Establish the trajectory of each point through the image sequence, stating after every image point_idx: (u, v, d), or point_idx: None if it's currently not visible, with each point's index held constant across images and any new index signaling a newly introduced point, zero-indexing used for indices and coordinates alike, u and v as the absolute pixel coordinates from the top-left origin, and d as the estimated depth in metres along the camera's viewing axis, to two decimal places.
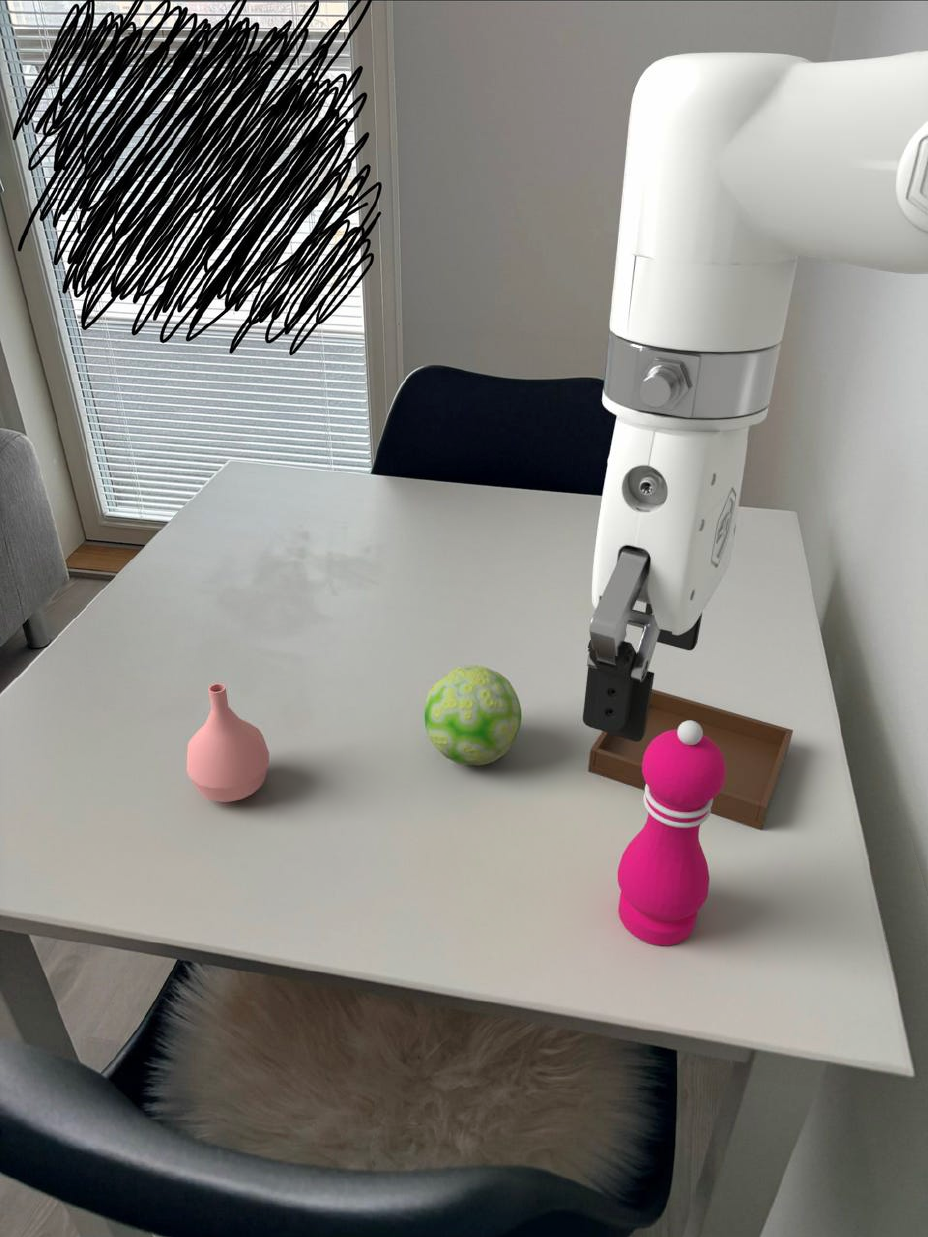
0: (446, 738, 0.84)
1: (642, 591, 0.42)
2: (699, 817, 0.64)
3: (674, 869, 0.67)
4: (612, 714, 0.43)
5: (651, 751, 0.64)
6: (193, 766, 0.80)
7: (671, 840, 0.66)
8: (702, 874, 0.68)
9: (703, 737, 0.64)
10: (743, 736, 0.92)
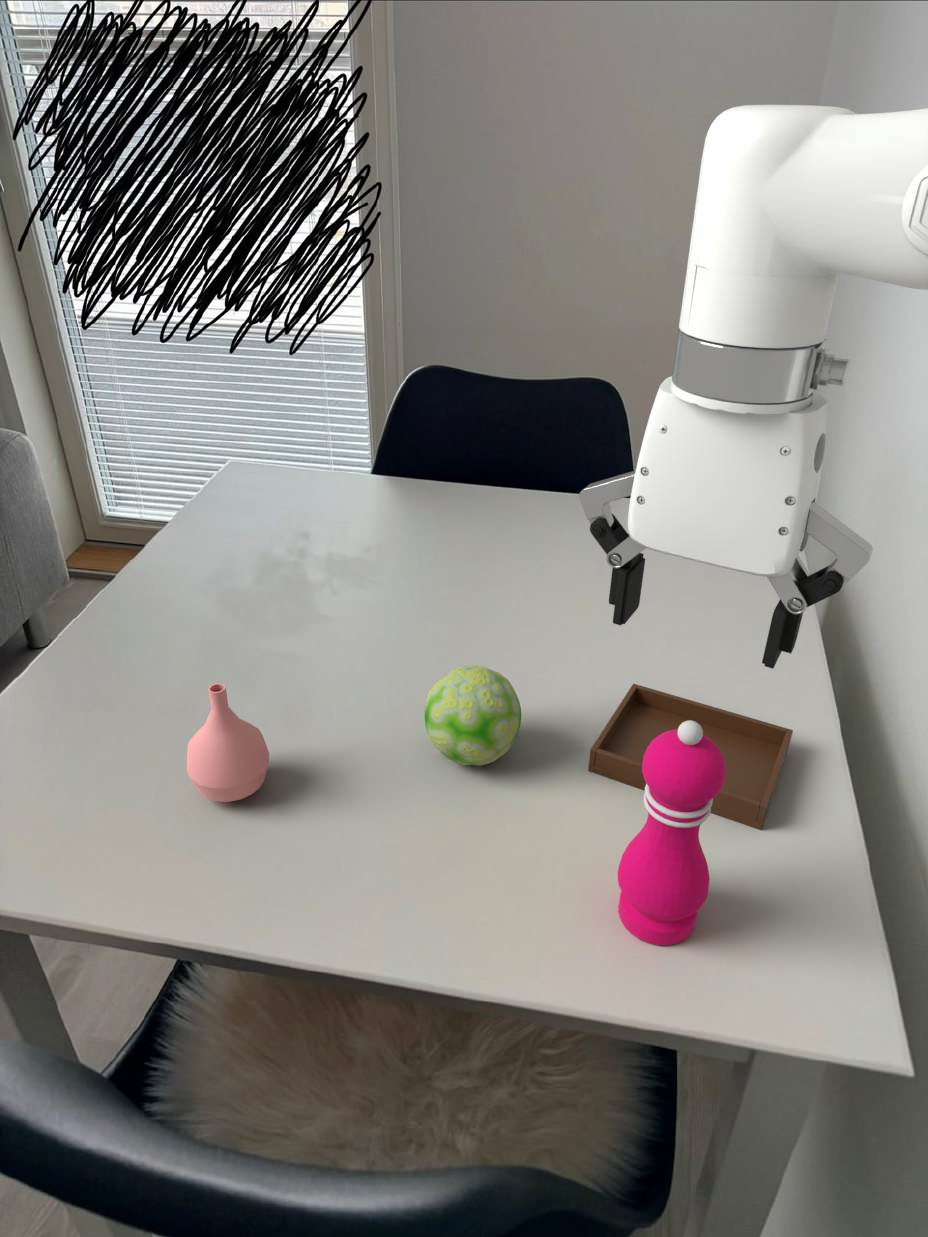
0: (446, 738, 0.84)
1: None
2: (699, 817, 0.64)
3: (674, 869, 0.67)
4: None
5: (651, 751, 0.64)
6: (193, 766, 0.80)
7: (671, 840, 0.66)
8: (702, 874, 0.68)
9: (703, 737, 0.64)
10: (743, 736, 0.92)
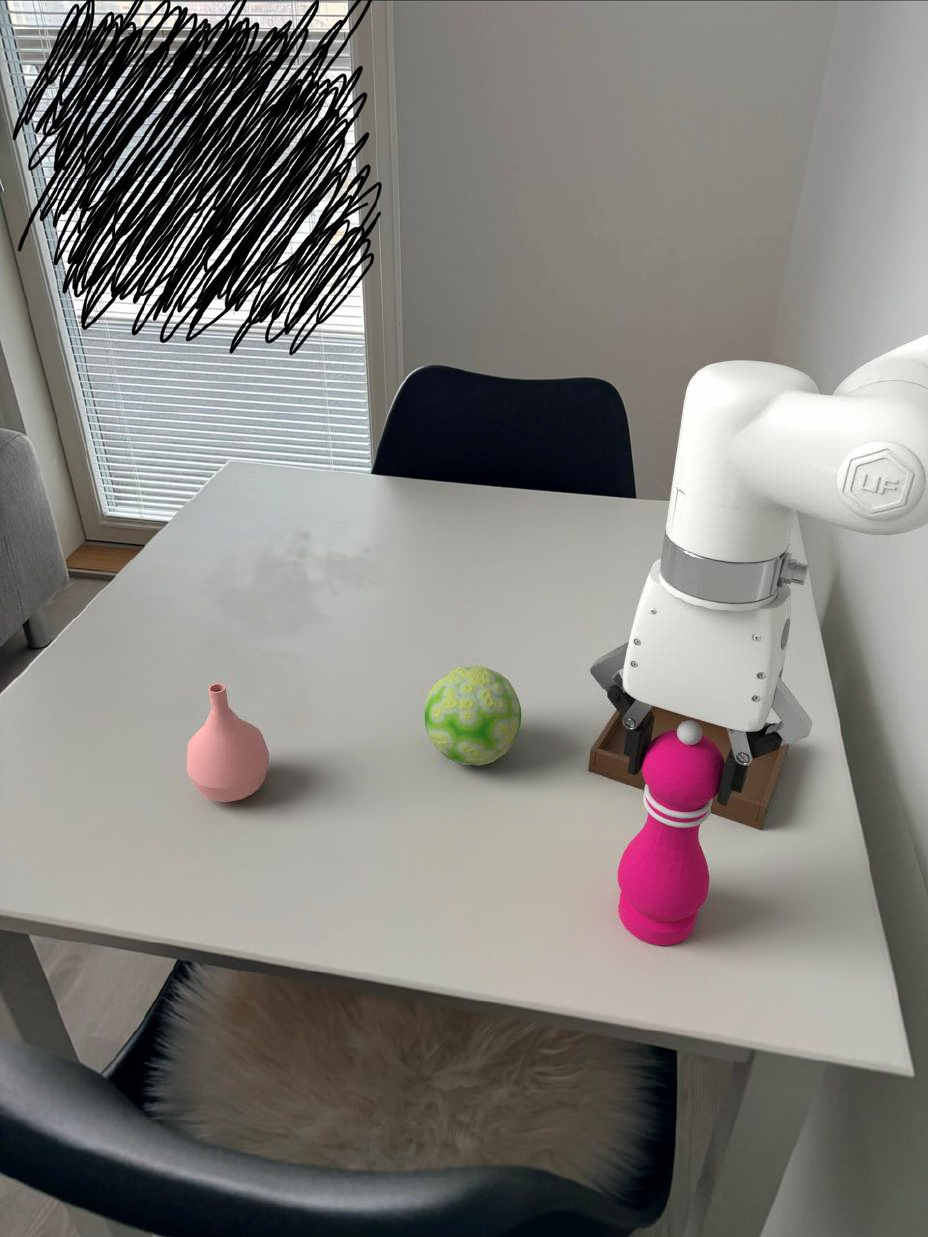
0: (446, 738, 0.84)
1: None
2: (699, 817, 0.64)
3: (674, 869, 0.67)
4: None
5: (651, 751, 0.64)
6: (193, 766, 0.80)
7: (670, 840, 0.66)
8: (702, 874, 0.68)
9: (703, 737, 0.64)
10: None
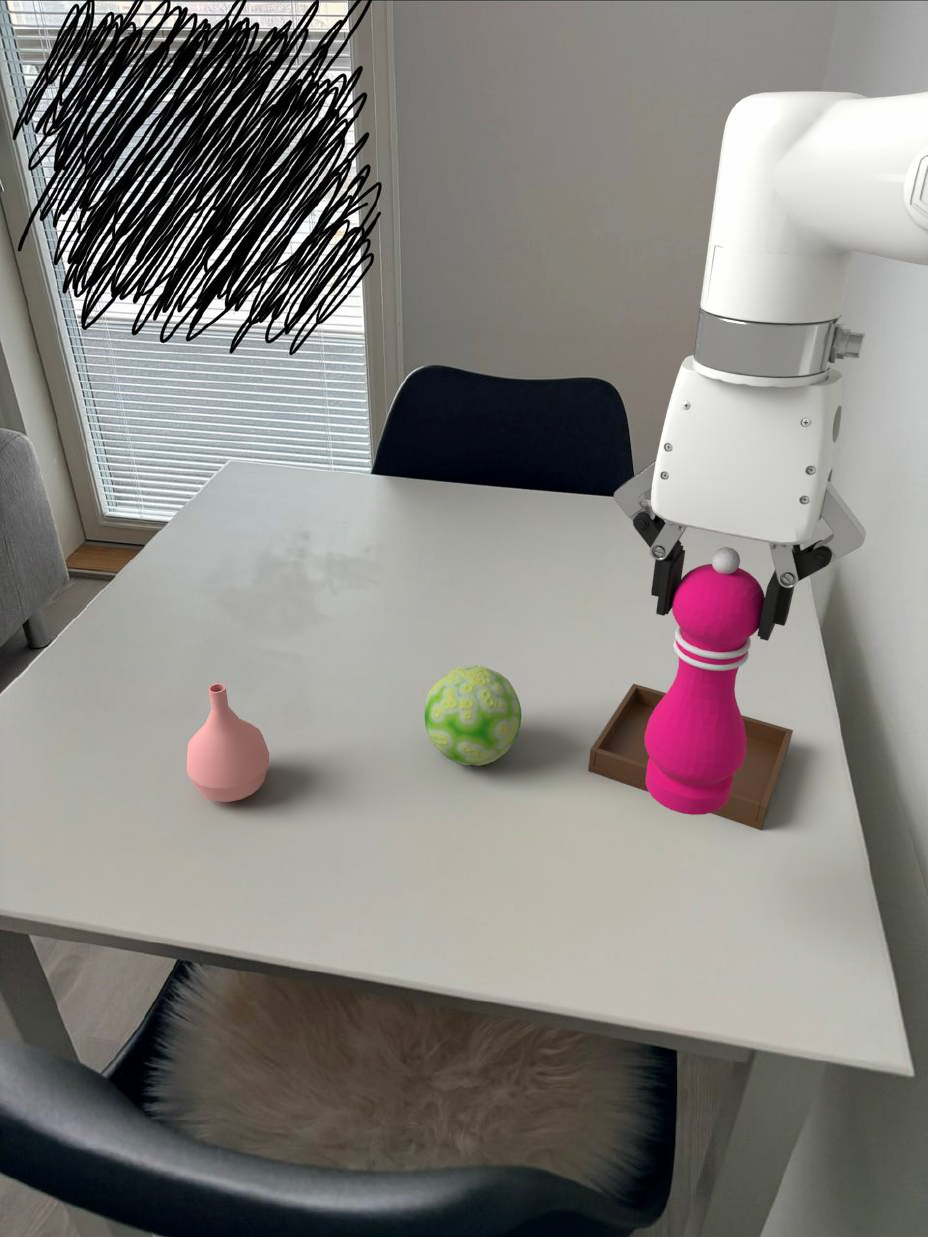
0: (446, 738, 0.84)
1: None
2: (737, 658, 0.58)
3: (709, 723, 0.60)
4: None
5: (682, 584, 0.58)
6: (193, 766, 0.80)
7: (705, 688, 0.59)
8: (740, 730, 0.61)
9: (740, 569, 0.58)
10: None
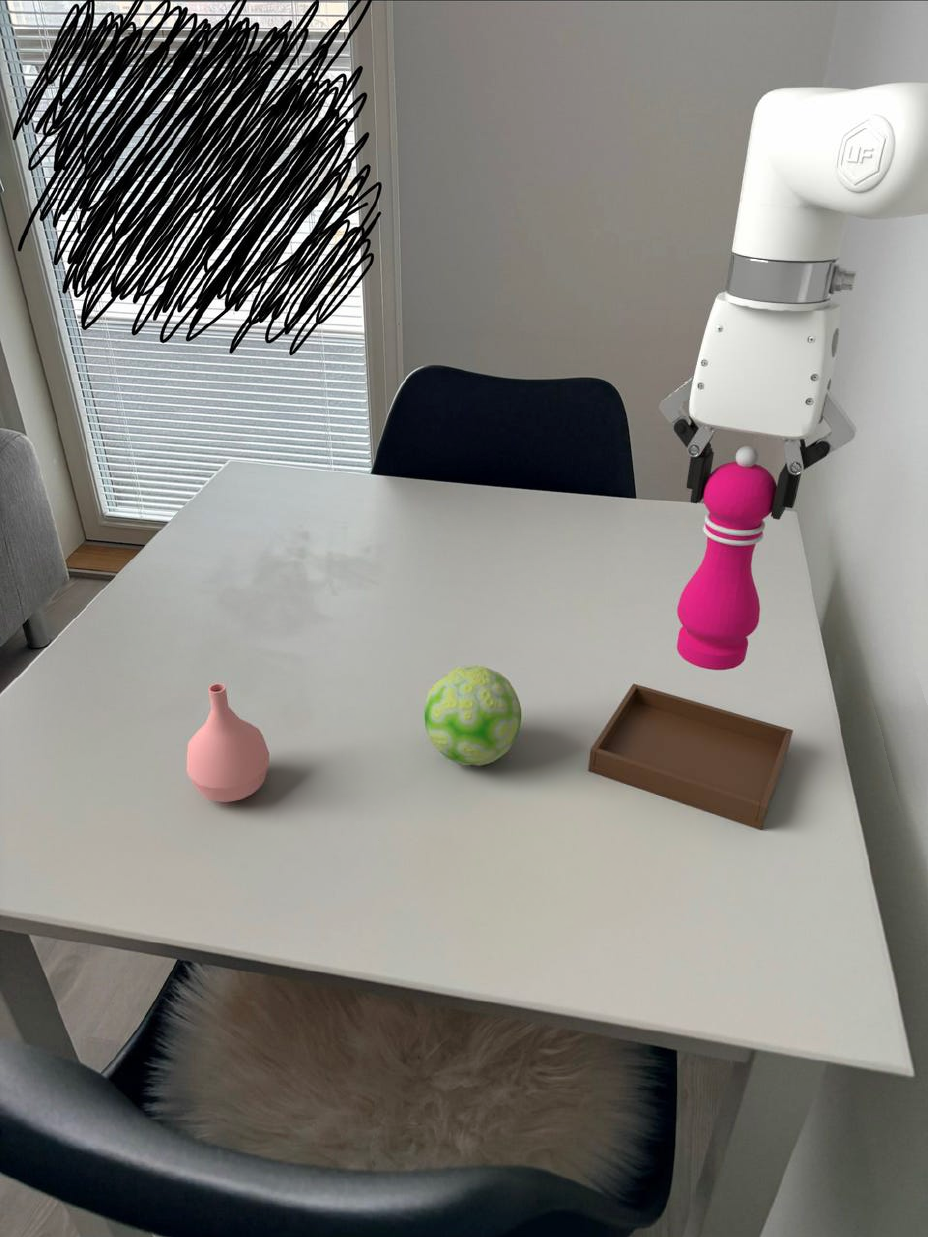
0: (446, 738, 0.84)
1: None
2: (754, 536, 0.73)
3: (730, 590, 0.76)
4: None
5: (712, 476, 0.73)
6: (193, 766, 0.80)
7: (728, 561, 0.75)
8: (755, 598, 0.77)
9: None
10: (743, 736, 0.92)
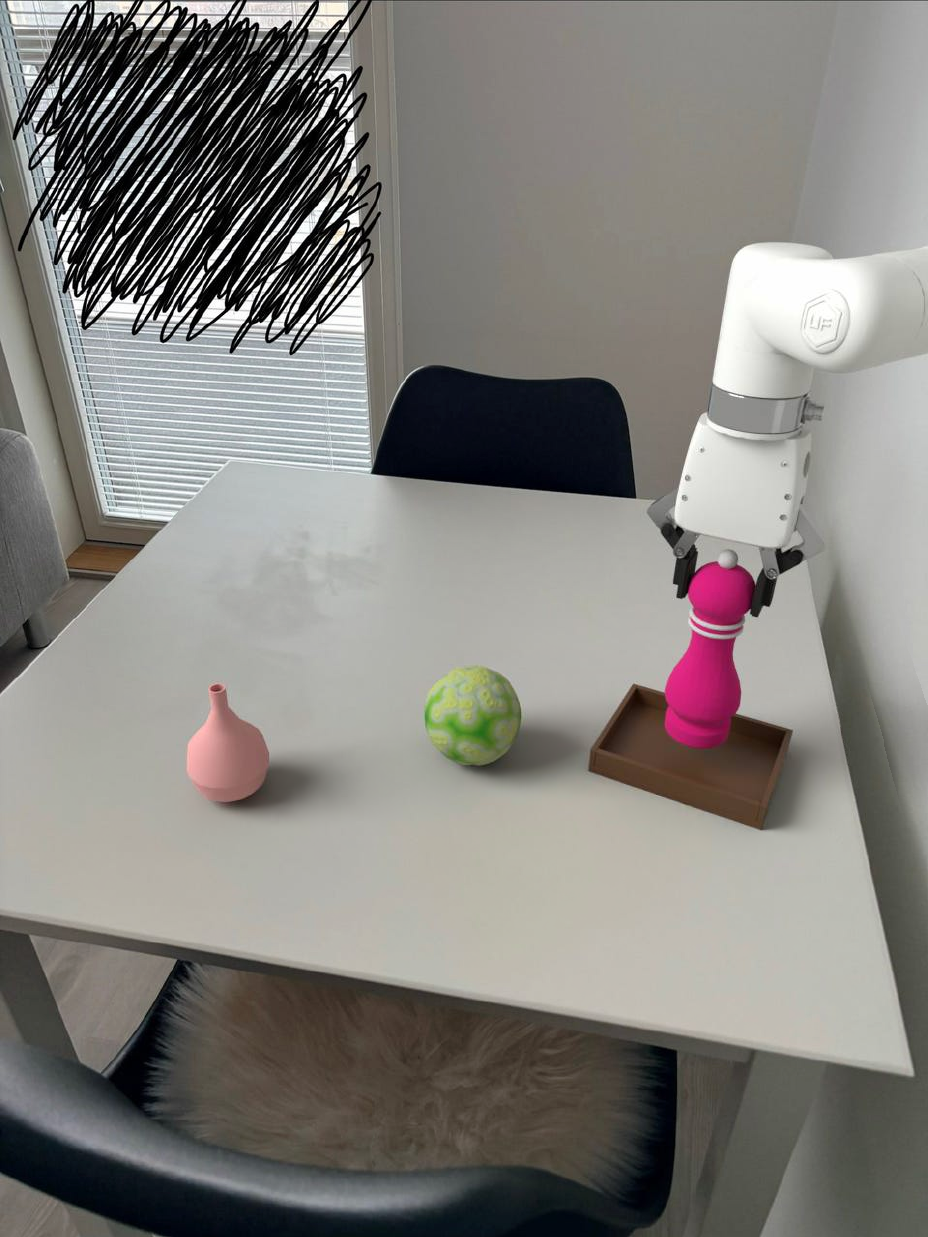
0: (446, 738, 0.84)
1: None
2: (735, 630, 0.79)
3: (713, 678, 0.82)
4: None
5: (696, 576, 0.79)
6: (193, 766, 0.80)
7: (711, 652, 0.81)
8: (736, 684, 0.83)
9: (738, 565, 0.79)
10: (743, 736, 0.92)
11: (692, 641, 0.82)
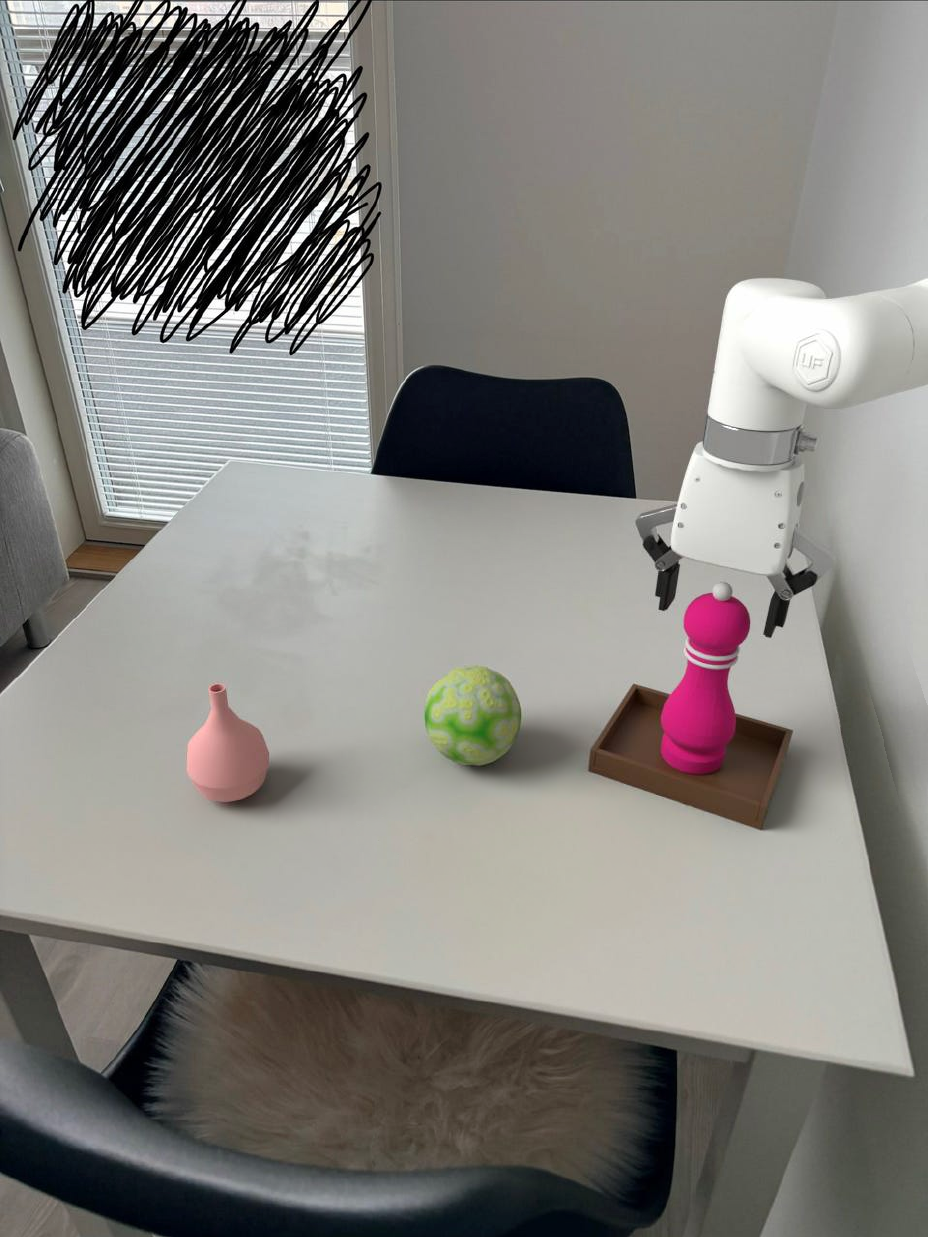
0: (446, 738, 0.84)
1: None
2: (729, 661, 0.81)
3: (708, 707, 0.83)
4: None
5: (691, 607, 0.81)
6: (193, 766, 0.80)
7: (706, 681, 0.83)
8: (731, 713, 0.84)
9: (732, 597, 0.81)
10: (743, 736, 0.92)
11: (687, 670, 0.84)
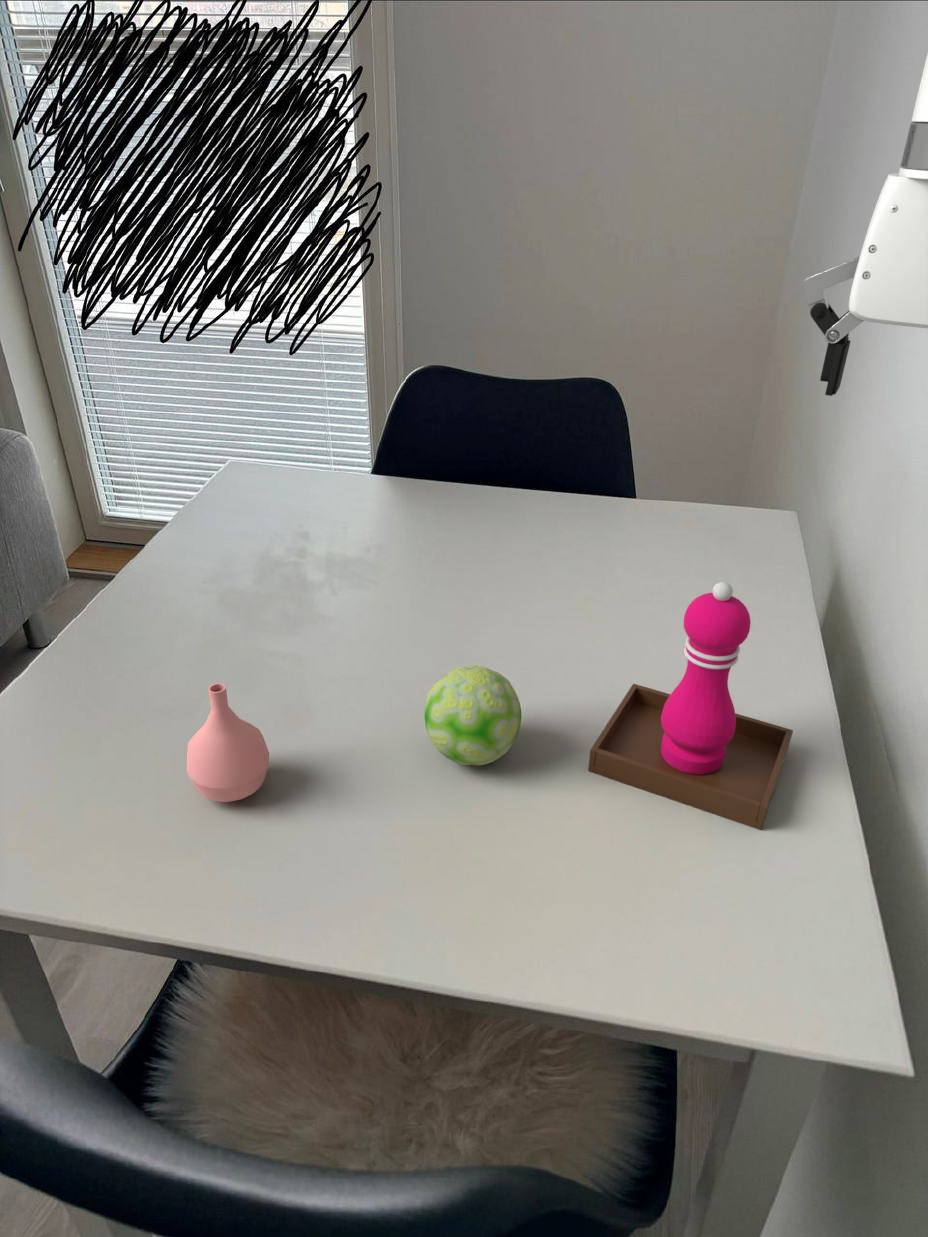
0: (446, 738, 0.84)
1: None
2: (729, 661, 0.81)
3: (708, 707, 0.83)
4: None
5: (691, 607, 0.81)
6: (193, 766, 0.80)
7: (706, 681, 0.83)
8: (731, 713, 0.84)
9: (732, 597, 0.81)
10: (743, 736, 0.92)
11: (688, 670, 0.84)
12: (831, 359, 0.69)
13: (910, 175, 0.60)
